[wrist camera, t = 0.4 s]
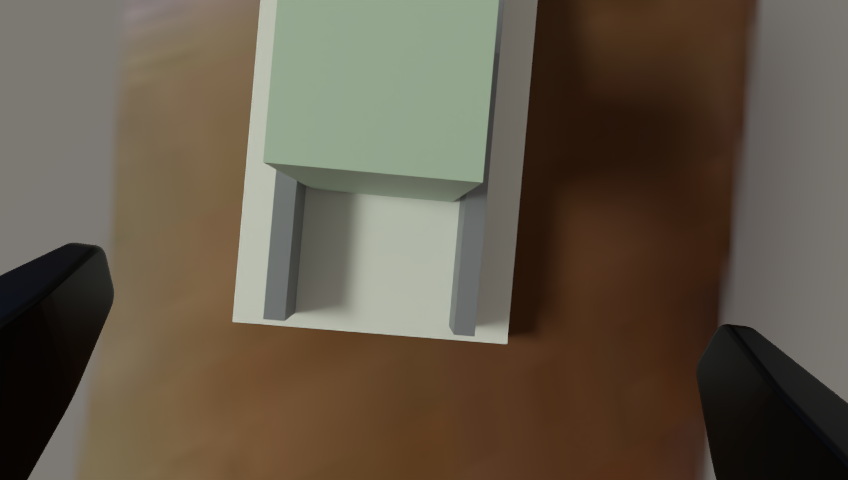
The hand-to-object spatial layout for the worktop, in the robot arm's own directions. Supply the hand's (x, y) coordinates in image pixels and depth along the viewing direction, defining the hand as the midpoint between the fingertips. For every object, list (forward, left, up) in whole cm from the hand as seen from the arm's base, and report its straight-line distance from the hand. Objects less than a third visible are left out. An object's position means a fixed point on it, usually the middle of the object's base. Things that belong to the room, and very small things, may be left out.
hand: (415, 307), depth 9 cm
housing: (+5, -1, -15) cm, 15 cm away
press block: (+5, -1, -13) cm, 14 cm away
